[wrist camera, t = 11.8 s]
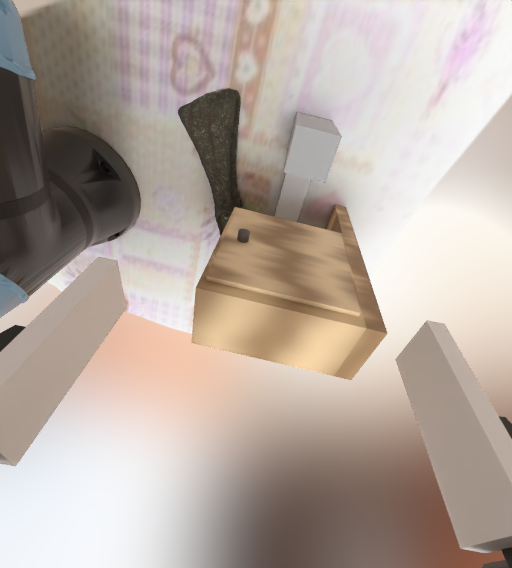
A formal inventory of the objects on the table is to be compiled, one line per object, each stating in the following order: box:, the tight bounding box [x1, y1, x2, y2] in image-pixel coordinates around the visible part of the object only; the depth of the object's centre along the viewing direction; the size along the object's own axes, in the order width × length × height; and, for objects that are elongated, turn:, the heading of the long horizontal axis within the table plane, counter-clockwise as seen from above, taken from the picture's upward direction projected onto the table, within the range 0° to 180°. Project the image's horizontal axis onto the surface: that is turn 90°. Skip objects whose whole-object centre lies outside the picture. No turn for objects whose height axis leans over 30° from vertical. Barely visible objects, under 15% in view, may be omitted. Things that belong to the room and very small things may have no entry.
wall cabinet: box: [192, 205, 387, 380], centre depth 29 cm, size 14×7×22 cm, turn 79°
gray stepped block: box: [274, 112, 342, 222], centre depth 32 cm, size 4×17×9 cm, turn 169°
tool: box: [178, 88, 242, 236], centre depth 35 cm, size 21×8×3 cm, turn 12°
